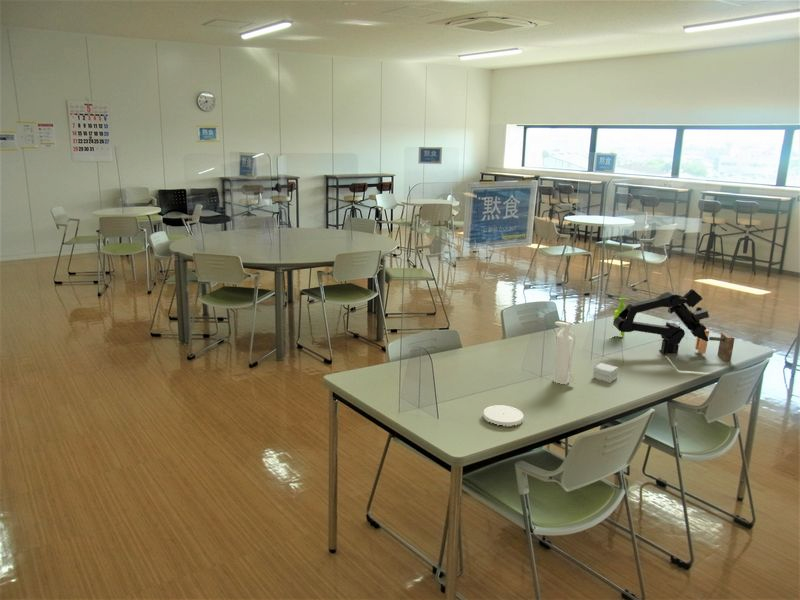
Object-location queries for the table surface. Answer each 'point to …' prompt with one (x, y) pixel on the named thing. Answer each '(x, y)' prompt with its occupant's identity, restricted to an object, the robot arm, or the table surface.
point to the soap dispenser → (620, 309)
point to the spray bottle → (564, 354)
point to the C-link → (702, 343)
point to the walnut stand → (724, 346)
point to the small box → (605, 372)
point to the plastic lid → (503, 415)
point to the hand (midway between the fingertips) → (705, 338)
